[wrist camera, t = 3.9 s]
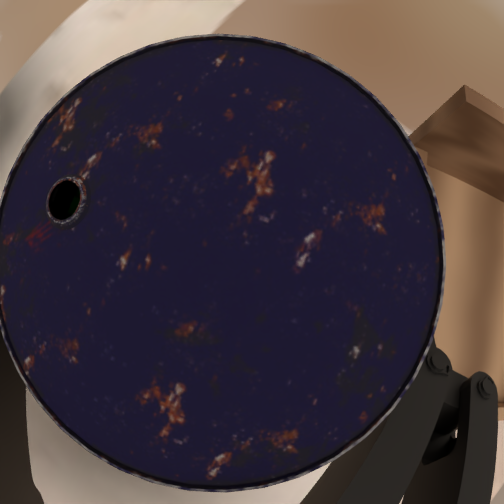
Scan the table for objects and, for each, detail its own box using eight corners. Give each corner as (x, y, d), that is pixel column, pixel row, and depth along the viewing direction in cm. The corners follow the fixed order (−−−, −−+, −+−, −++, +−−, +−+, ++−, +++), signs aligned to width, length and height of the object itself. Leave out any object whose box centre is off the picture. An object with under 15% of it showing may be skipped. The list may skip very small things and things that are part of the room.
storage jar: (330, 228, 20) (480, 134, 6) (277, 368, 20) (334, 531, 5) (190, 175, 21) (104, 11, 6) (136, 312, 20) (-39, 361, 5)
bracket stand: (328, 385, 20) (395, 469, 9) (379, 162, 21) (464, 84, 10) (486, 400, 19) (570, 437, 9) (521, 225, 21) (609, 204, 10)
